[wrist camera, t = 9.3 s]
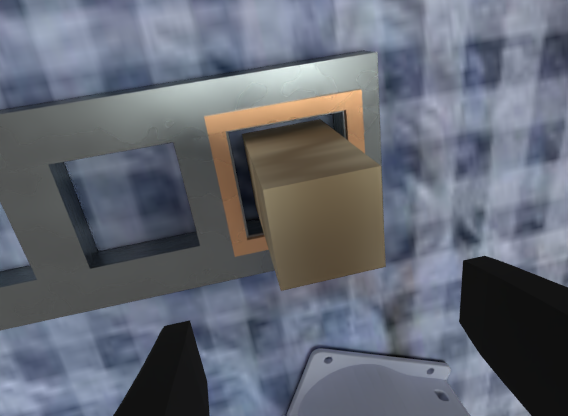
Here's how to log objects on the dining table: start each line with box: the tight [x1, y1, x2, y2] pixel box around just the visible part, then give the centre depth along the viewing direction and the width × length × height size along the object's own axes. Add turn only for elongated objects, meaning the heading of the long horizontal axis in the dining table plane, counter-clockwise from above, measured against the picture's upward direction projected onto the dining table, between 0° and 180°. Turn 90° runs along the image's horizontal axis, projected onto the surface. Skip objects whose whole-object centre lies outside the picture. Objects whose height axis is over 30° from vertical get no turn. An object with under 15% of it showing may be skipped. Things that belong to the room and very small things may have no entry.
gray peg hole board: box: [0, 51, 384, 330], centre depth 18 cm, size 22×9×2 cm, turn 98°
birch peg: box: [242, 119, 386, 291], centre depth 16 cm, size 4×4×7 cm
